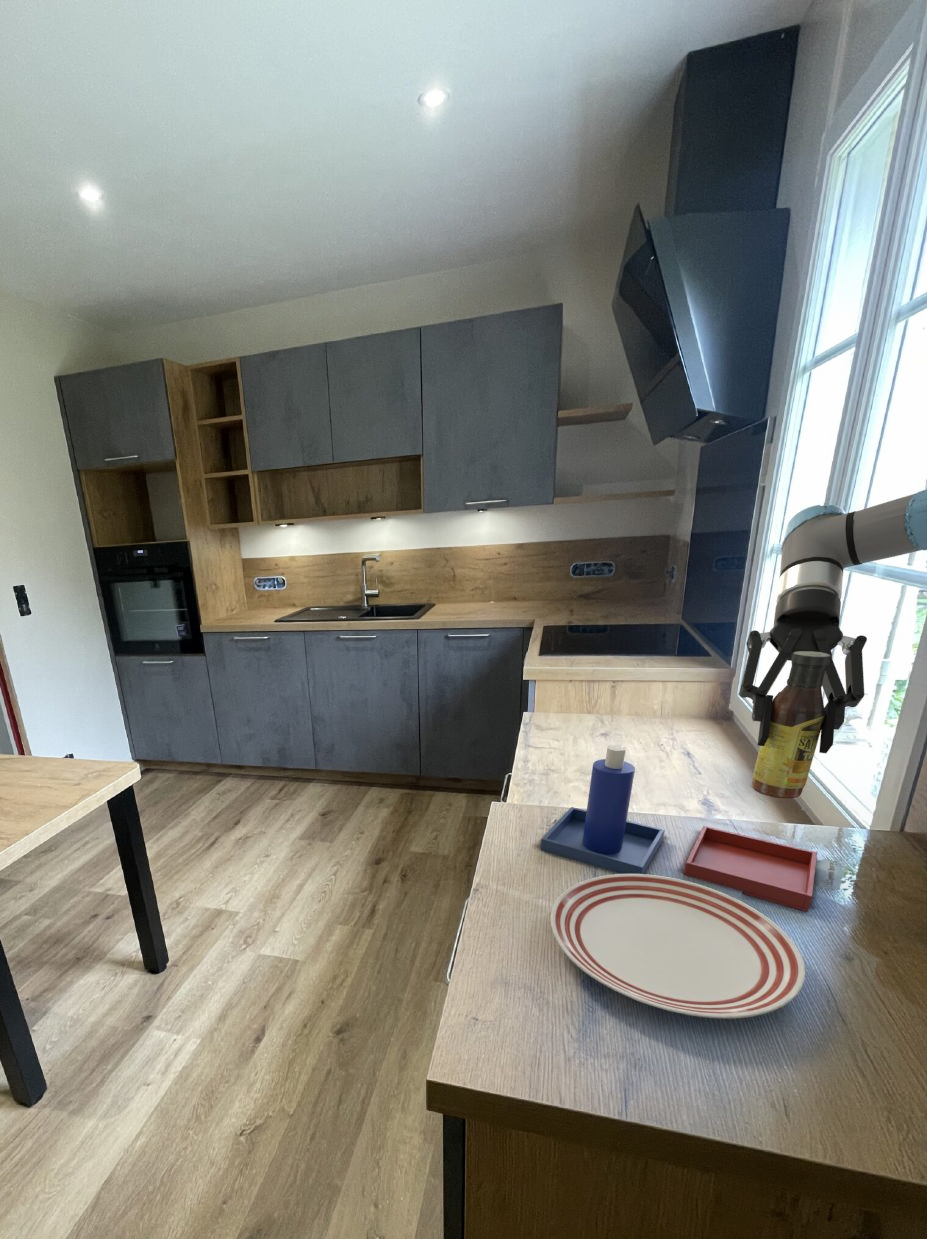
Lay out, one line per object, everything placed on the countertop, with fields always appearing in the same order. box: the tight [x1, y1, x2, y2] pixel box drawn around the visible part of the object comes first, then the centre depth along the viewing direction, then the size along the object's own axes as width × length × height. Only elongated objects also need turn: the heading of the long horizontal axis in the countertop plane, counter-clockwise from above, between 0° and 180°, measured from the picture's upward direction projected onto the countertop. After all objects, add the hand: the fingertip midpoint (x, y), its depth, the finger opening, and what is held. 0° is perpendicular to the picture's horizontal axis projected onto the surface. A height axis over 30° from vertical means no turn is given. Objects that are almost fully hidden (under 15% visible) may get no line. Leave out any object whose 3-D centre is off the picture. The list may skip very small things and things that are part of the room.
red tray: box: [683, 825, 818, 913], centre depth 92 cm, size 15×14×2 cm
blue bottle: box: [582, 744, 636, 854], centre depth 97 cm, size 6×6×17 cm
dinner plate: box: [549, 873, 807, 1019], centre depth 76 cm, size 28×27×3 cm
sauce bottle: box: [751, 651, 831, 800], centre depth 84 cm, size 6×6×20 cm
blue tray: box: [539, 806, 666, 874], centre depth 100 cm, size 15×14×2 cm
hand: (793, 744), depth 81 cm, fingers closed on sauce bottle, 6 cm apart
